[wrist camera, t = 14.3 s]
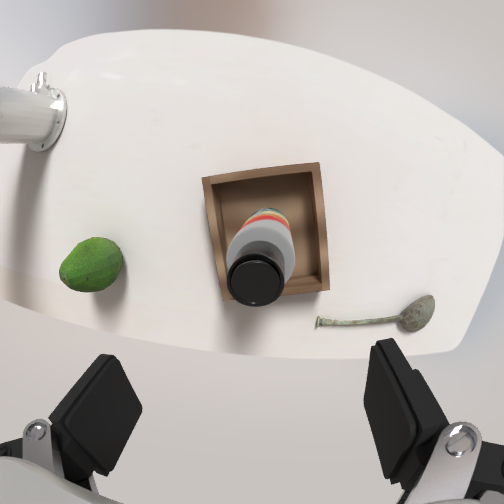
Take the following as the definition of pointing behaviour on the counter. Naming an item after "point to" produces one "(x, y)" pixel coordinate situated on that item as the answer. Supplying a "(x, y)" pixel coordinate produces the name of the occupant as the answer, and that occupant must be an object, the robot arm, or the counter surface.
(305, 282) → the walnut tray
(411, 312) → the soupspoon
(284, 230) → the lotion bottle
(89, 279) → the avocado
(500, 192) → the counter surface
